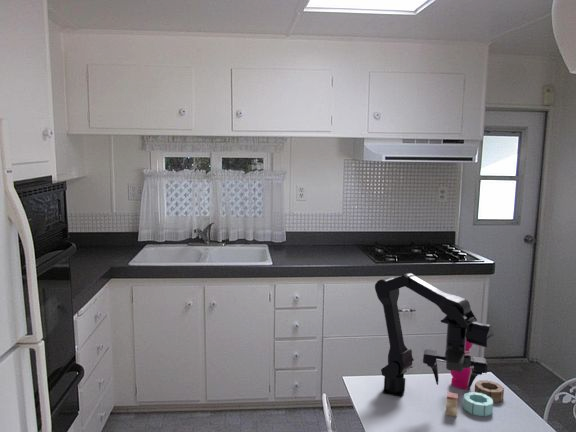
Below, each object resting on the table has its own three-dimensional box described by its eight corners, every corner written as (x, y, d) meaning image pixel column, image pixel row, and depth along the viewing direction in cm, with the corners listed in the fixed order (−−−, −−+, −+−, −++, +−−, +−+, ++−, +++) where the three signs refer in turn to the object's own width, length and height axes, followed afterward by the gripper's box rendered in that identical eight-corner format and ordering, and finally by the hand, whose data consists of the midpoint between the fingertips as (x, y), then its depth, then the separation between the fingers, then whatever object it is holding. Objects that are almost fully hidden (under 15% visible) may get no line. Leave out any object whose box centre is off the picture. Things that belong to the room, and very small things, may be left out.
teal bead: (463, 412, 150) (464, 402, 150) (463, 400, 158) (463, 390, 158) (493, 418, 147) (493, 407, 147) (491, 405, 156) (491, 395, 155)
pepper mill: (473, 390, 165) (477, 335, 163) (451, 388, 167) (455, 333, 165) (469, 381, 172) (473, 328, 170) (448, 379, 174) (452, 326, 172)
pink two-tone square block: (445, 414, 149) (447, 396, 148) (446, 409, 152) (447, 392, 151) (456, 416, 148) (457, 398, 147) (456, 411, 151) (457, 393, 150)
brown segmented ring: (482, 402, 157) (483, 392, 157) (470, 389, 166) (471, 380, 166) (507, 402, 158) (508, 392, 157) (494, 389, 166) (495, 380, 166)
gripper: (423, 343, 143) (420, 392, 144) (490, 353, 137) (486, 404, 138) (425, 331, 153) (422, 377, 155) (487, 340, 147) (484, 387, 149)
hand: (452, 386), depth 149 cm, fingers open, 9 cm apart
